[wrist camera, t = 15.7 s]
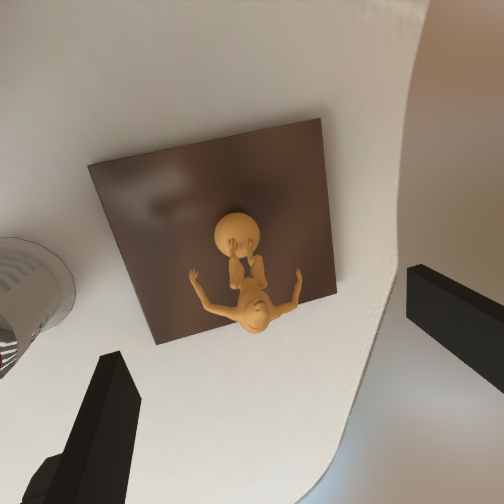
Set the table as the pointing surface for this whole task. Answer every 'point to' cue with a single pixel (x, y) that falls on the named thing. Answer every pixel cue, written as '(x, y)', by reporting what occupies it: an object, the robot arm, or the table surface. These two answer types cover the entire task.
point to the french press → (30, 295)
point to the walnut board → (211, 212)
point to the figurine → (251, 296)
